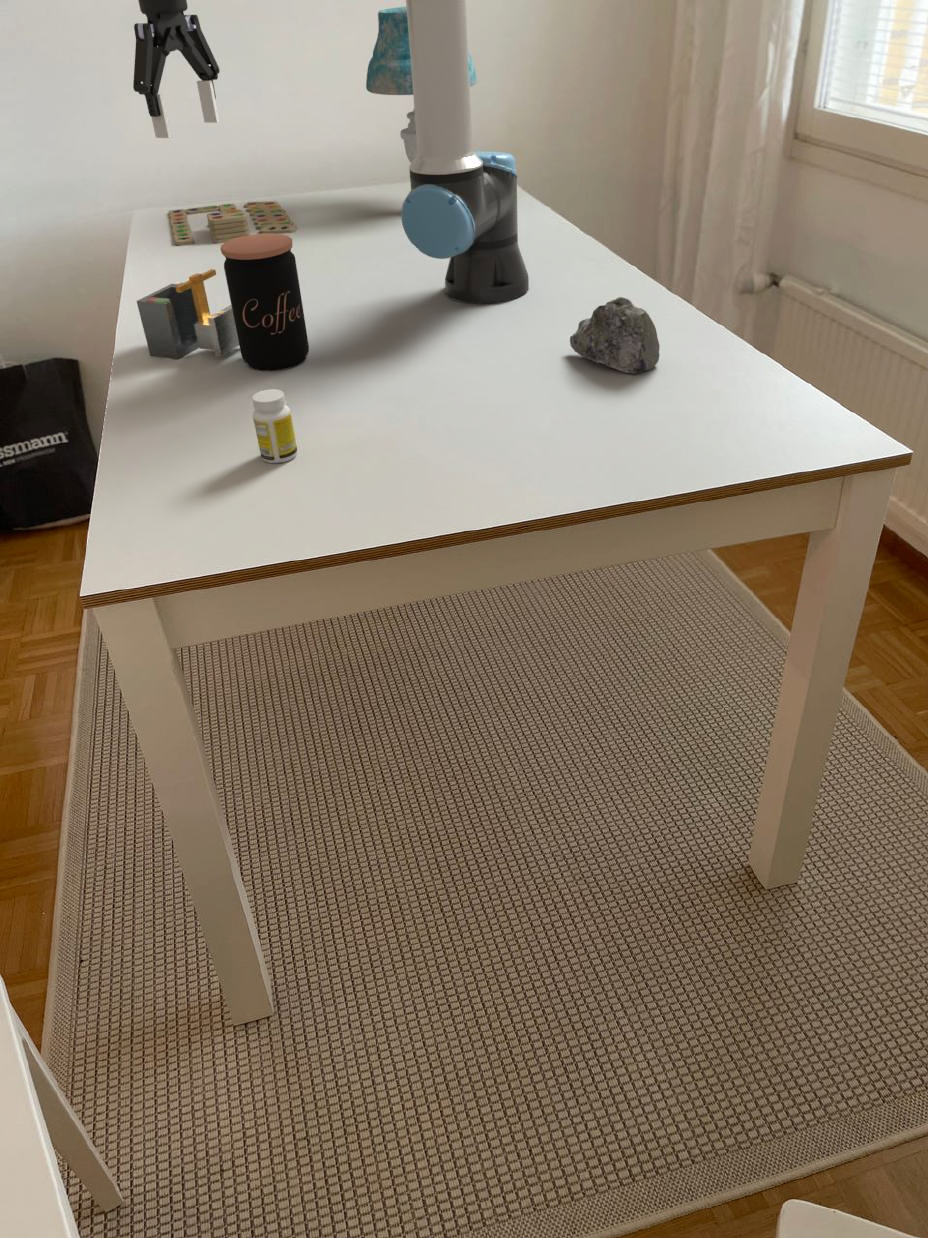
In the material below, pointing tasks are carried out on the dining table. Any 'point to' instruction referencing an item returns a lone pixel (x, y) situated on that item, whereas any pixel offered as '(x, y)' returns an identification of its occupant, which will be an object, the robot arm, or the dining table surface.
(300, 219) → the dining table surface
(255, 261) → the coffee jar
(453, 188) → the robot arm
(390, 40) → the table lamp
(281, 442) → the supplement bottle
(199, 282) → the plunger
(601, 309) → the mineral rock
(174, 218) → the pile of dominoes
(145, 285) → the dining table surface
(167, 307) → the gauge housing
